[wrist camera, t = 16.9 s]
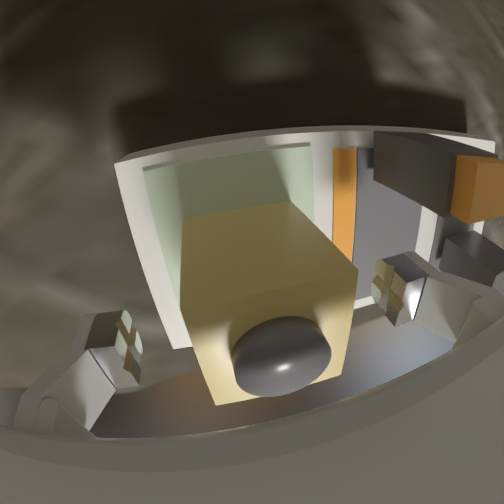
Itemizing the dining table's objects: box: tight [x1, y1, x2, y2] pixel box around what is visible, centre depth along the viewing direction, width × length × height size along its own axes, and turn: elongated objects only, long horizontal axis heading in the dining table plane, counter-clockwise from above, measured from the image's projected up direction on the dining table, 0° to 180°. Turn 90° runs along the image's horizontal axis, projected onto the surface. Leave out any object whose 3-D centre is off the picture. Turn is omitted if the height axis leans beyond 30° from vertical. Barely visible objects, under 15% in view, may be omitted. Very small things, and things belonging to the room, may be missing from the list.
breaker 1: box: [373, 131, 504, 224], centre depth 8 cm, size 3×2×5 cm, turn 96°
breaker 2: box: [438, 230, 504, 296], centre depth 12 cm, size 3×2×4 cm, turn 96°
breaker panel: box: [114, 125, 495, 349], centre depth 13 cm, size 20×9×3 cm, turn 96°
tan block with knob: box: [180, 201, 359, 405], centre depth 9 cm, size 4×4×6 cm
